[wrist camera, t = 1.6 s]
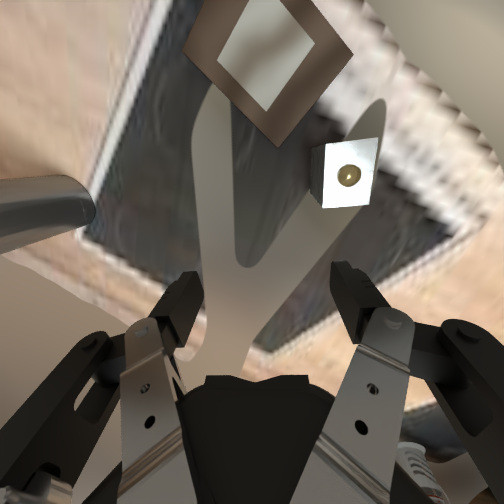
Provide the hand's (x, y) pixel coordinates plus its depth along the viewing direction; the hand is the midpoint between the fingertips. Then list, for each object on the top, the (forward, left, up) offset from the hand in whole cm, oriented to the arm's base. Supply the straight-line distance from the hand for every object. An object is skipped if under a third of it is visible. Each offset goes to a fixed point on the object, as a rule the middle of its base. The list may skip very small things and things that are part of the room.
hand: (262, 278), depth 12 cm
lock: (+6, +7, -22) cm, 23 cm away
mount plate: (-6, +17, -22) cm, 28 cm away
